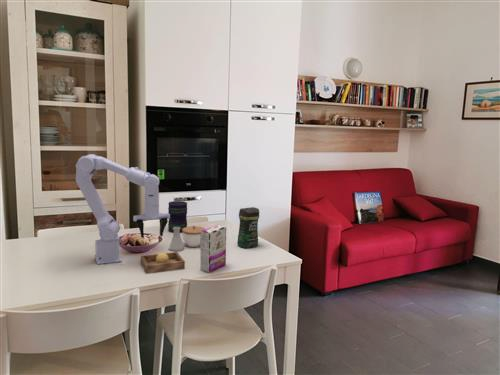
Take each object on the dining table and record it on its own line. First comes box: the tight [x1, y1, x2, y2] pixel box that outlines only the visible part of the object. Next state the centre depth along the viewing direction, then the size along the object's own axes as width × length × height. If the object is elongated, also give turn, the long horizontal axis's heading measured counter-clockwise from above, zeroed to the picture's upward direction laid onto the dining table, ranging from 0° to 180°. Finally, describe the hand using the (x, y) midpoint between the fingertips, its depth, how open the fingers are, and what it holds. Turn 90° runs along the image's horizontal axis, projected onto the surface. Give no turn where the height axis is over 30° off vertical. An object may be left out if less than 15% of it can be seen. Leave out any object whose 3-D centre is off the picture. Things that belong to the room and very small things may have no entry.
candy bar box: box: [200, 224, 227, 273], centre depth 158 cm, size 11×5×16 cm, turn 148°
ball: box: [156, 252, 169, 264], centre depth 158 cm, size 5×5×5 cm
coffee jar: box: [237, 206, 260, 249], centre depth 187 cm, size 10×8×19 cm
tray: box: [140, 251, 186, 274], centre depth 158 cm, size 15×12×3 cm
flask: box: [168, 227, 185, 252], centre depth 179 cm, size 7×7×10 cm
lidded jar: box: [182, 225, 206, 248], centre depth 185 cm, size 11×11×9 cm
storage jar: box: [167, 200, 188, 234], centre depth 208 cm, size 10×10×15 cm
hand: (151, 236), depth 164 cm, fingers open, 7 cm apart
